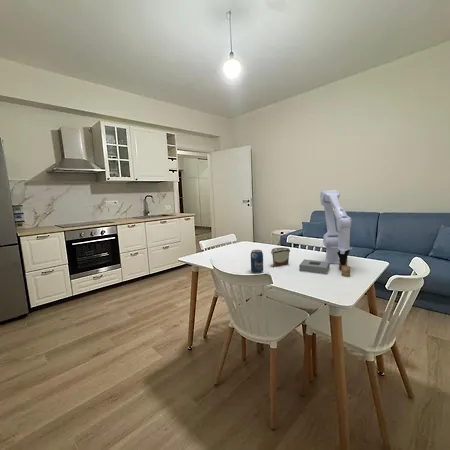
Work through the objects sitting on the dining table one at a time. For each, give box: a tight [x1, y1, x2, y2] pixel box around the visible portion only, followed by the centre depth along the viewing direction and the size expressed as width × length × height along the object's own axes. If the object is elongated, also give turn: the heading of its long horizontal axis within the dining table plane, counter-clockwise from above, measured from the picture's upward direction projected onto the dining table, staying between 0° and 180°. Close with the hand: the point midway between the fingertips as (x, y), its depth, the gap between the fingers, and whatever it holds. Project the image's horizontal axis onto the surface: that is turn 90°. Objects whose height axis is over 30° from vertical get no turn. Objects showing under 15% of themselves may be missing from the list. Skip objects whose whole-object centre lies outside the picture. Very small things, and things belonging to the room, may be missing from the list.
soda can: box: [250, 249, 264, 274], centre depth 138 cm, size 7×7×12 cm
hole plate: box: [298, 259, 331, 275], centre depth 138 cm, size 12×14×4 cm
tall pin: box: [338, 255, 349, 271], centre depth 135 cm, size 4×4×8 cm
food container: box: [270, 247, 291, 268], centre depth 149 cm, size 12×6×10 cm, turn 111°
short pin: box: [340, 265, 351, 278], centre depth 126 cm, size 4×4×4 cm
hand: (343, 263), depth 136 cm, fingers open, 4 cm apart
